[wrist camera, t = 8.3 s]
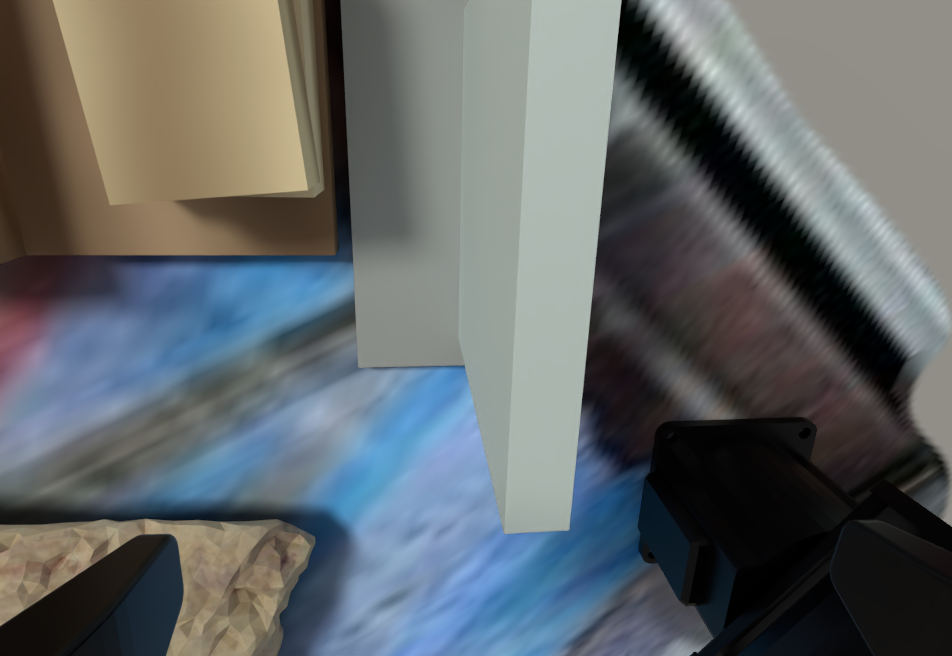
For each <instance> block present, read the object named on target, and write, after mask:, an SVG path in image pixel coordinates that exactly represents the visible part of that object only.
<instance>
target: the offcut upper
mask: <svg viewBox="0 0 952 656" xmlns="http://www.w3.org/2000/svg"><path fill="white" fill-rule="evenodd" d="M53 3H54V7H55V10H56V14H57V17H58V21H59V25H60V28H61V32H62V35H63V39H64V42H65V46H66V50H67V53H68V57H69V60H70V64H71V68H72V71H73V75H74V78H75V82H76V85H77V89H78V93H79V96H80V100H81V103H82V107H83V110H84V114H85V118H86V121H87V125H88V128H89V132H90V136H91V139H92V143H93V146H94V150H95V153H96V157H97V161H98V164H99V168H100V171H101V175H102V178H103V182H104V186H105V189H106V193H107V196H108V200H109V204H110V205H120V204H134V203H147V202H160V201H173V200H187V199H200V198H213V197H227V196H240V195H253V194H267V193H280V192H293V191H307V190H309V189H311V188H312V187H314V186H315V185H317V184H318V183H320V176H319V169H318V163H317V156H316V150H315V143H314V136H313V130H312V123H311V117H310V110H309V104H308V97H307V90H306V84H305V77H304V71H303V64H302V57H301V51H300V44H299V38H298V31H297V25H296V18H295V11H294V5H293V0H53Z"/></svg>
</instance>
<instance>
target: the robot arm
mask: <svg viewBox="0 0 952 656" xmlns="http://www.w3.org/2000/svg"><path fill="white" fill-rule="evenodd" d="M803 428H804V430H803V431H802V432H801V433H799V432H800V430H802V429H803ZM673 432H674V434H673V436H672V437H671V438H668V439H666V437H667V435H668V434H670V433H673ZM816 432H817V428H816V426H815V425H814V424H813V423H812V422H810V421H809V420H807V419H806V418H803V417H793V418H764V419H735V420H706V421H676V422H666V423H663V424H662V425H660V426H659V428H658V429H657V431H656V434H655V441H654V447H653V454H652V461H651V468H650V473H648V475H647V476H646V477H645V480H644V487H643V494H642V501H641V508H640V515H639V522H638V529H639V531H640V533H641V536H640V542H639V552H640V554H641V556H642V558H643V560H644V561H645V562H647V563H652V564H653V563H658V564H659V566H660V568H661V570H662V571H663V573H664V575H665V577H666V578H667V580H668V582H669V584H670V586H671V587H672V589H673V591H674V593H675V594H676V596H677V598H678V600H679V601H680V602H681V603H682V604H683V605H685V606H695V608H696V609H697V611H698V613H699V614H700V616H701V618H702V619H703V621H704V623H705V624H706V626H707V628H708V630H709V631H710V633H711V635H712V636H713V638H714V639H712V640H711V641H710V642H709V643H708V644H707V645H706V646H705V647H704V648H703V649H702V650H701V651H699V652H698V653H697V652H693V653H692V654H691V655H690V656H952V527H951V526H950V525H948V524H947V523H946V522H944V521H943V520H941V519H940V518H938V517H937V516H936V515H934V514H933V513H931V512H930V511H929V510H927V509H926V508H924V507H923V506H921V505H920V504H919V503H917V502H916V501H914V500H913V499H912V498H910V497H909V496H907V495H906V494H904V493H903V492H902V491H900V490H899V489H897V488H896V487H895V486H893V485H892V484H890V483H889V482H887V481H886V480H885V479H883V478H882V479H881V480H880V481H879V482H878V483H877V484H876V485H875V486H874V487H873V488H871V489H870V491H871V492H872V493H871V494H870V495H869V496H868V497H867V498H866V499H865V500H864V501H863V502H862V503H861V504H859V503H858V502H857V501H856V500H855V499H853V498H852V497H851V496H850V495H849V494H847V493H846V492H845V491H844V490H843V489H841V488H840V487H839V486H838V485H837V484H836V483H834V482H833V481H832V480H831V479H830V478H828V477H827V476H826V475H825V474H824V473H822V472H821V471H820V470H819V469H818V468H817V467H815V466H814V465H813V464H812V463H811V462H809V460H810V456H811V452H812V448H813V444H814V441H815V437H816ZM649 551H651V552H649ZM183 595H184V584H183V577H182V569H181V562H180V555H179V547H178V542H177V540H176V538H175V537H174V536H173V535H171V534H143V535H138V536H136V537H134V538H132V539H131V540H129V541H128V542H126V543H125V544H123V545H121V546H120V547H118V548H117V549H115V550H114V551H112V552H111V553H109V554H108V555H106V556H105V557H103V558H102V559H100V560H99V561H97V562H96V563H94V564H93V565H91V566H90V567H88V568H87V569H85V570H84V571H82V572H81V573H79V574H78V575H76V576H75V577H73V578H72V579H70V580H69V581H67V582H66V583H64V584H63V585H61V586H60V587H58V588H57V589H55V590H54V591H52V592H51V593H49V594H48V595H46V596H45V597H43V598H42V599H40V600H38V601H37V602H35V603H34V604H32V605H31V606H29V607H28V608H26V609H25V610H23V611H22V612H20V613H19V614H17V615H16V616H14V617H13V618H11V619H10V620H8V621H7V622H5V623H4V624H2V625H1V626H0V656H166V654H167V651H168V648H169V645H170V642H171V638H172V635H173V632H174V629H175V626H176V623H177V620H178V616H179V613H180V610H181V607H182V602H183Z"/></svg>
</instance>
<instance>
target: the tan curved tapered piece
mask: <svg viewBox="0 0 952 656" xmlns="http://www.w3.org/2000/svg"><path fill="white" fill-rule="evenodd" d="M143 534H171V535H173V536H174V537H175V538H176V540H177V542H178V547H179V555H180V562H181V569H182V577H183V584H184V595H183V602H182V607H181V610H180V613H179V616H178V620H177V623H176V626H175V629H174V632H173V635H172V638H171V642H170V645H169V648H168V651H167V654H166V656H277V655H278V652H279V650H280V647H281V644H282V643H281V641H282V639H283V637H284V635H283V628H282V626H281V625H280V619H279V616H280V614H281V612H282V611H283V610H284V609H285V608H286V607H287V606H288V602H289V597H290V593H291V591H292V589H293V588H294V586H295V585H296V583H297V582H298V580H299V577H298V576H299V575H300V574H301V573H302V572H303V571H304V570H305V569H306V568H307V565H308V561H309V557H310V554H311V552H312V550H313V547H314V545H315V536H313V535H311V534H309V533H307V532H305V531H303V530H301V529H299V528H297V527H295V526H293V525H291V524H288V523H286V522H283V521H280V520H278V519H272V520H259V521H230V522H218V521H204V520H185V521H169V520H155V519H139V520H129V521H114V520H106V519H103V520H97V521H91V522H67V523H53V524H44V525H0V626H1V625H2V624H4V623H5V622H7V621H8V620H10V619H11V618H13V617H14V616H16V615H17V614H19V613H20V612H22V611H23V610H25V609H26V608H28V607H29V606H31V605H32V604H34V603H35V602H37V601H38V600H40V599H42V598H43V597H45V596H46V595H48V594H49V593H51V592H52V591H54V590H55V589H57V588H58V587H60V586H61V585H63V584H64V583H66V582H67V581H69V580H70V579H72V578H73V577H75V576H76V575H78V574H79V573H81V572H82V571H84V570H85V569H87V568H88V567H90V566H91V565H93V564H94V563H96V562H97V561H99V560H100V559H102V558H103V557H105V556H106V555H108V554H109V553H111V552H112V551H114V550H115V549H117V548H118V547H120V546H121V545H123V544H125V543H126V542H128V541H129V540H131V539H132V538H134V537H136V536H138V535H143Z"/></svg>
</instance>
